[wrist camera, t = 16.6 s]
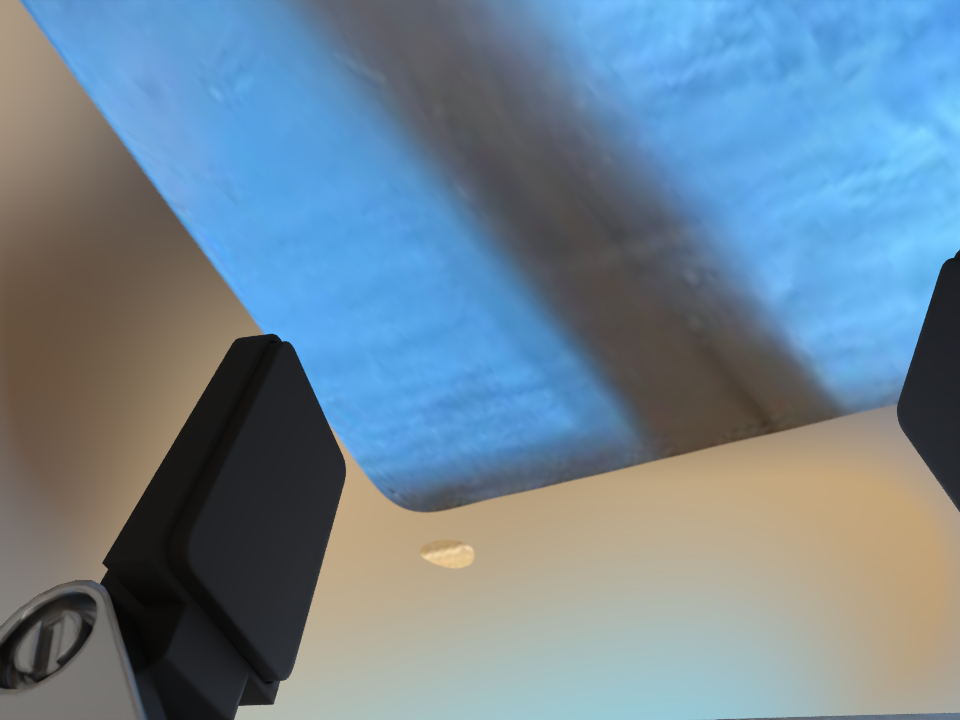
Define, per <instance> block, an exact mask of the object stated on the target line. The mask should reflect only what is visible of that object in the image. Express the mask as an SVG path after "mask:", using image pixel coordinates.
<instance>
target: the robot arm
mask: <svg viewBox="0 0 960 720" xmlns="http://www.w3.org/2000/svg"><path fill="white" fill-rule="evenodd" d="M897 416H898V421H899V424H900V426H901V428H902V430H903V432H904V433H905V434H906V436H907V437H908V439H909V440H910V442H911V443H912V444H913V446H914V447H915V449H916V450H917V452H918V453H919V454H920V456H921V457H922V459H923V460H924V462H925V463H926V465H927V466H928V467H929V469H930V470H931V472H932V473H933V474H934V476H935V477H936V479H937V480H938V481H939V483H940V485H941V486H942V487H943V489H944V490H945V492H946V493H947V494H948V496H949V497H950V499H951V500H952V502H953V503H954V504H955V506H956V507H957V509H958V510H959V512H960V250H959V251H958V252H957V253H956V255H955V257H954V258H951V259H948V260H947V261H946V262H945V263H944V264H943V266H942V268H941V270H940V273H939V276H938V279H937V282H936V286H935V289H934V292H933V295H932V298H931V301H930V304H929V308H928V311H927V314H926V317H925V320H924V323H923V326H922V330H921V333H920V336H919V339H918V342H917V345H916V348H915V351H914V355H913V358H912V361H911V364H910V367H909V370H908V373H907V377H906V380H905V383H904V386H903V389H902V392H901V395H900V398H899V402H898V406H897ZM345 477H346V466H345V460H344V458H343V455H342V453H341V451H340V448H339V446H338V444H337V442H336V440H335V438H334V435H333V433H332V431H331V429H330V426H329V424H328V422H327V420H326V418H325V415H324V413H323V411H322V409H321V407H320V404H319V402H318V400H317V398H316V396H315V393H314V391H313V389H312V387H311V385H310V382H309V380H308V378H307V376H306V374H305V371H304V369H303V367H302V365H301V363H300V360H299V358H298V356H297V354H296V352H295V349H294V348H293V346H292V345H291V344H290V343H289V342H287V341H284V342H282V341H281V339H280V338H279V337H278V336H277V335H275V334H266V335H258V336H251V337H243V338H238V339H236V340H235V341H234V342H233V344H232V345H231V347H230V349H229V350H228V352H227V354H226V355H225V357H224V359H223V361H222V362H221V364H220V365H219V367H218V369H217V371H216V372H215V374H214V376H213V377H212V379H211V381H210V382H209V384H208V386H207V387H206V389H205V391H204V393H203V394H202V396H201V398H200V399H199V401H198V403H197V404H196V406H195V408H194V409H193V411H192V413H191V414H190V416H189V418H188V419H187V421H186V423H185V425H184V426H183V428H182V429H181V431H180V433H179V435H178V436H177V438H176V440H175V441H174V443H173V445H172V446H171V448H170V450H169V451H168V453H167V455H166V456H165V458H164V460H163V462H162V463H161V465H160V467H159V468H158V470H157V472H156V473H155V475H154V477H153V479H152V480H151V482H150V483H149V485H148V487H147V488H146V490H145V492H144V493H143V495H142V497H141V499H140V500H139V502H138V504H137V505H136V507H135V509H134V510H133V512H132V514H131V516H130V517H129V519H128V520H127V522H126V524H125V526H124V527H123V529H122V531H121V532H120V534H119V536H118V538H117V539H116V541H115V542H114V544H113V546H112V547H111V549H110V551H109V552H108V554H107V556H106V558H105V559H104V561H103V564H104V565H105V566H106V567H107V568H108V571H107V573H106V574H105V576H104V577H103V579H102V581H101V583H100V584H98V583H96V582H94V581H91V580H75V581H72V582H68V583H64V584H61V585H57V586H55V587H53V588H51V589H49V590H47V591H45V592H43V593H41V594H39V595H37V596H36V597H35V598H33V599H32V600H30V601H29V602H28V603H26V604H25V605H23V606H22V607H20V608H19V609H18V610H17V611H16V612H15V613H14V614H13V615H12V616H11V617H10V618H9V619H8V620H6V621H5V623H3V625H1V626H0V720H234V718H235V714H236V712H237V708H238V706H243V705H244V706H245V705H272V704H274V701H275V697H276V694H277V691H278V687H279V683H280V681H283V680H286V679H287V678H288V677H289V676H290V674H291V672H292V670H293V667H294V664H295V660H296V656H297V653H298V649H299V645H300V642H301V638H302V634H303V631H304V627H305V623H306V620H307V616H308V612H309V609H310V605H311V602H312V598H313V594H314V591H315V587H316V584H317V580H318V576H319V573H320V569H321V565H322V562H323V558H324V554H325V551H326V547H327V543H328V540H329V536H330V532H331V529H332V526H333V522H334V518H335V515H336V511H337V507H338V504H339V500H340V496H341V493H342V489H343V485H344V481H345ZM719 720H960V713H940V714H938V713H937V714H936V713H935V714H896V715H858V716H857V715H856V716H821V717H787V718H753V719H719Z"/></svg>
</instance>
